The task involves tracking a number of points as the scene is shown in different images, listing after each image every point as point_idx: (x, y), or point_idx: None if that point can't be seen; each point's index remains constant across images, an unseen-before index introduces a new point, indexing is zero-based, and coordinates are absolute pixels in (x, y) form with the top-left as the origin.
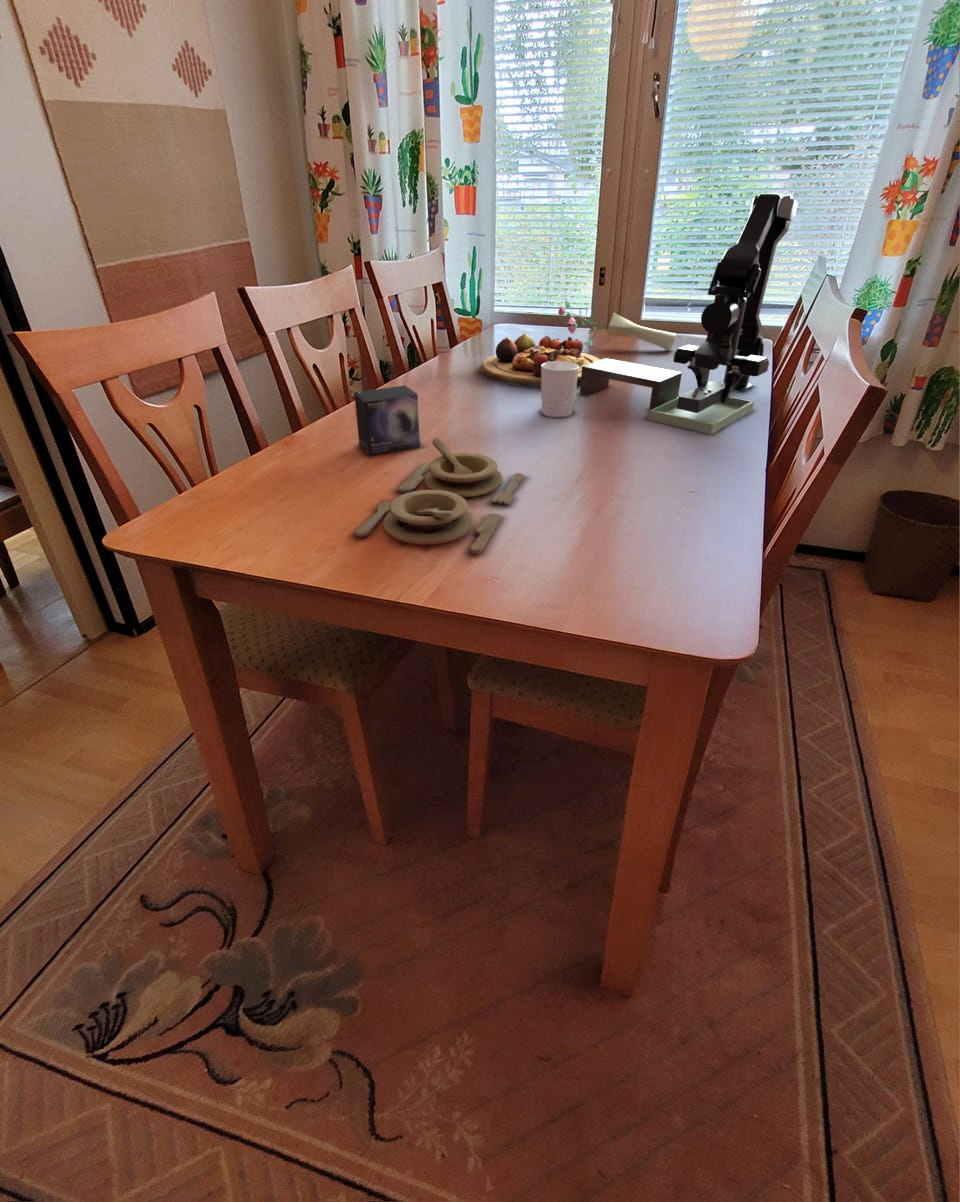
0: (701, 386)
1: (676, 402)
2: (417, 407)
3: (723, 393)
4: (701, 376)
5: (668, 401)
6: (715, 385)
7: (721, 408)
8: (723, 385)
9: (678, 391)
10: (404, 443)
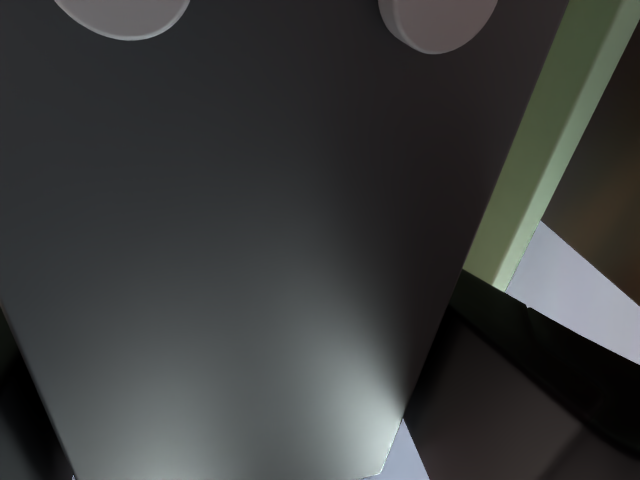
0: (451, 233)
1: (569, 38)
2: None
3: None
4: (586, 421)
5: (636, 47)
6: (261, 412)
7: None
8: (160, 477)
9: (585, 247)
10: None
